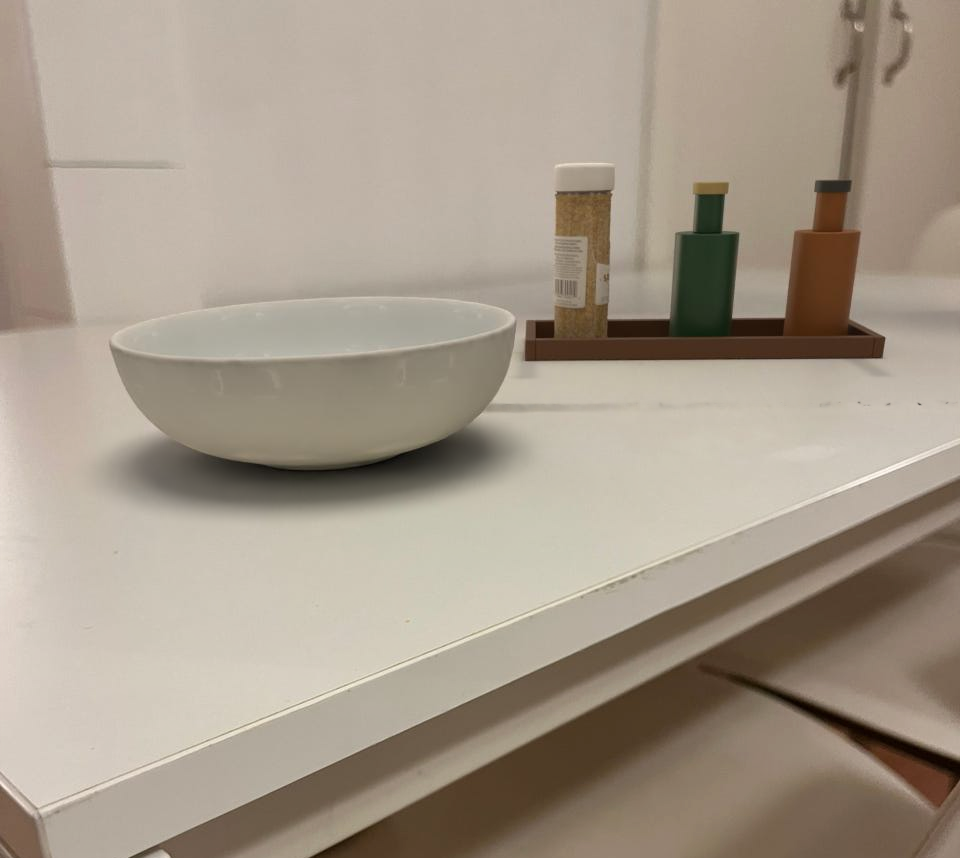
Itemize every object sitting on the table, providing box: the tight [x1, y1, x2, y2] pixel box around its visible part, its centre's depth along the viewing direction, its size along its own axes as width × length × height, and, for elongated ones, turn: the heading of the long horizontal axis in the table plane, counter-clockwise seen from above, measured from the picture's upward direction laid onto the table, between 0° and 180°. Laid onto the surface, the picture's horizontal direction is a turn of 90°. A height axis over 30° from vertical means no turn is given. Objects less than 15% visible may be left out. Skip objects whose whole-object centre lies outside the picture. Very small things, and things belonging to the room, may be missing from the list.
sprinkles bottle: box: [553, 162, 616, 338], centre depth 78 cm, size 5×5×14 cm
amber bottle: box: [783, 179, 862, 336], centre depth 77 cm, size 5×5×12 cm
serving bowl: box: [108, 296, 518, 471], centre depth 54 cm, size 21×21×7 cm
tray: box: [524, 317, 886, 362], centre depth 80 cm, size 27×11×2 cm, turn 87°
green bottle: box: [669, 181, 741, 337], centre depth 78 cm, size 5×5×12 cm
